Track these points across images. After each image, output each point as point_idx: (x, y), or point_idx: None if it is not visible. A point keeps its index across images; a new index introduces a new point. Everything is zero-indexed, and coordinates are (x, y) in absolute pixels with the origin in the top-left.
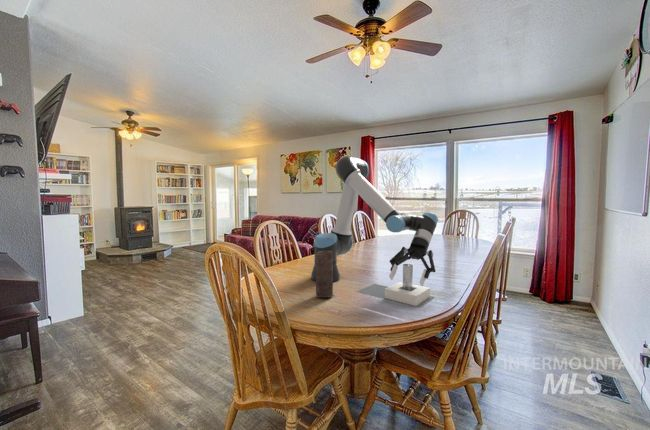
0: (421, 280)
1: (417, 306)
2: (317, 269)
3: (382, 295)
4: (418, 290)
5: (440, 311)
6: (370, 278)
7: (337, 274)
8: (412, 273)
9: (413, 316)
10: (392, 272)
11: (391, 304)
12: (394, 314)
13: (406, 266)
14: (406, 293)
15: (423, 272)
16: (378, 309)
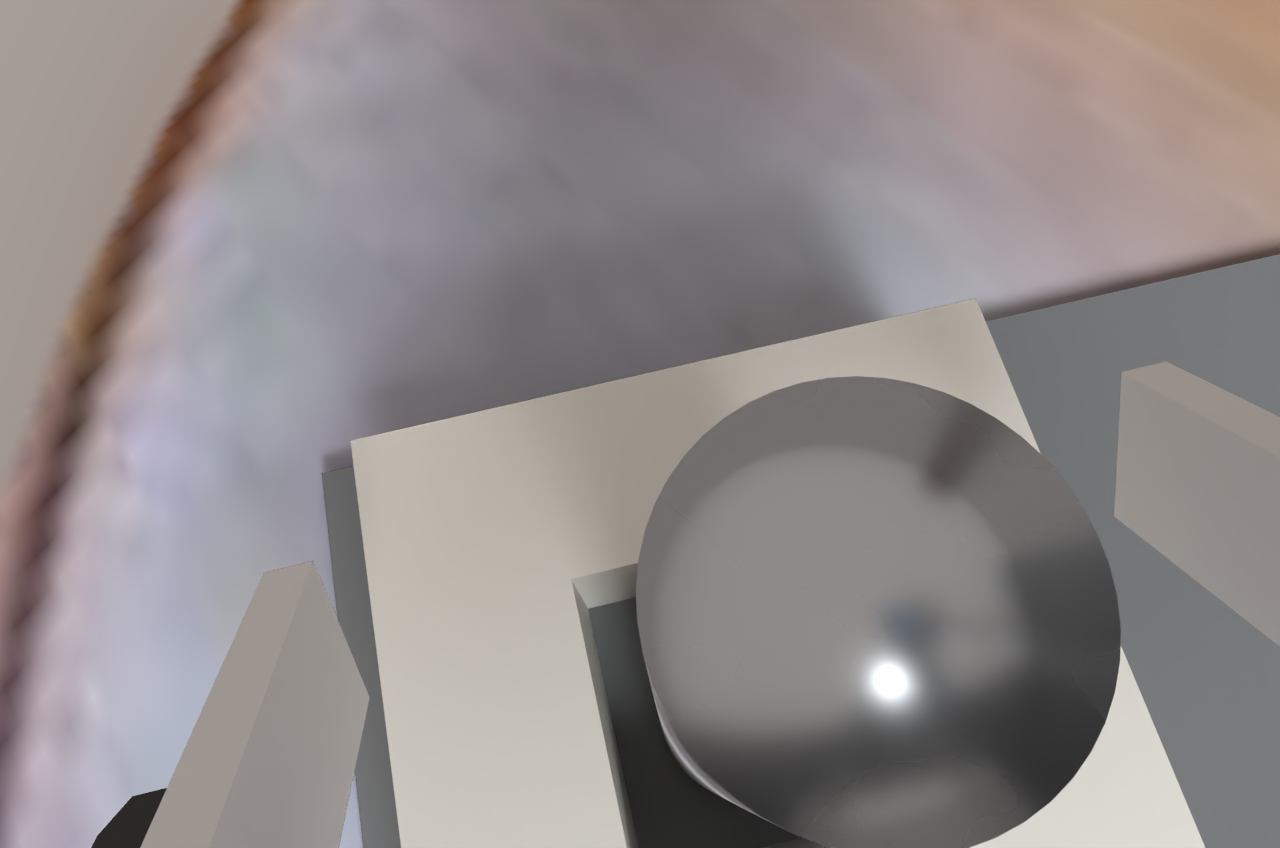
0: (257, 605)
1: None
2: None
3: (1041, 425)
4: (514, 762)
5: (72, 653)
6: None
7: None
8: (663, 722)
9: (265, 225)
10: (1220, 428)
11: (701, 302)
12: (452, 106)
13: (770, 403)
14: (551, 404)
15: (196, 819)
16: (673, 69)
